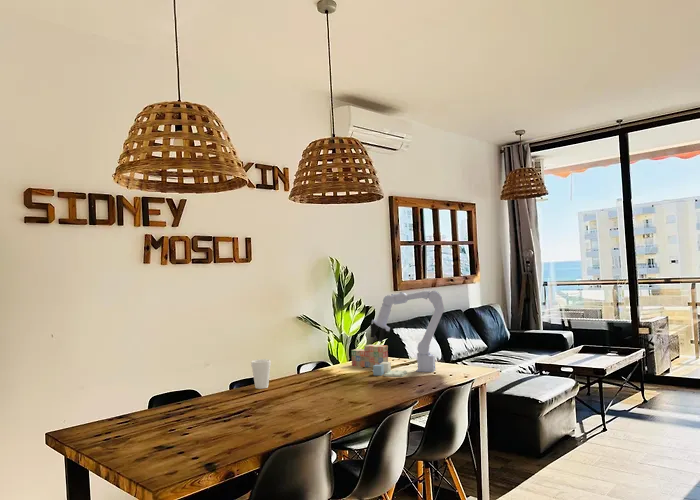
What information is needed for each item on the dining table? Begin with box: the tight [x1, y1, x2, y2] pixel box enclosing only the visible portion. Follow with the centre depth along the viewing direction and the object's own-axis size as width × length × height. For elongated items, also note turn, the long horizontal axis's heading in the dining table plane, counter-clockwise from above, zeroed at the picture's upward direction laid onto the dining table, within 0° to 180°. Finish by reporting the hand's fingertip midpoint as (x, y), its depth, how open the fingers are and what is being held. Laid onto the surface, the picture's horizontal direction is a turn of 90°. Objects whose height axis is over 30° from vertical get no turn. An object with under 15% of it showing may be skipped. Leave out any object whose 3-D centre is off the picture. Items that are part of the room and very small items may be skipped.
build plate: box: [383, 369, 408, 378], centre depth 282 cm, size 10×10×1 cm
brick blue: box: [372, 364, 385, 377], centre depth 284 cm, size 4×4×5 cm
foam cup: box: [250, 358, 272, 390], centre depth 263 cm, size 10×9×13 cm
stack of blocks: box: [350, 344, 389, 368], centre depth 311 cm, size 21×6×12 cm, turn 58°
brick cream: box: [380, 361, 392, 374], centre depth 291 cm, size 4×4×5 cm
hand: (376, 339), depth 295 cm, fingers open, 7 cm apart
